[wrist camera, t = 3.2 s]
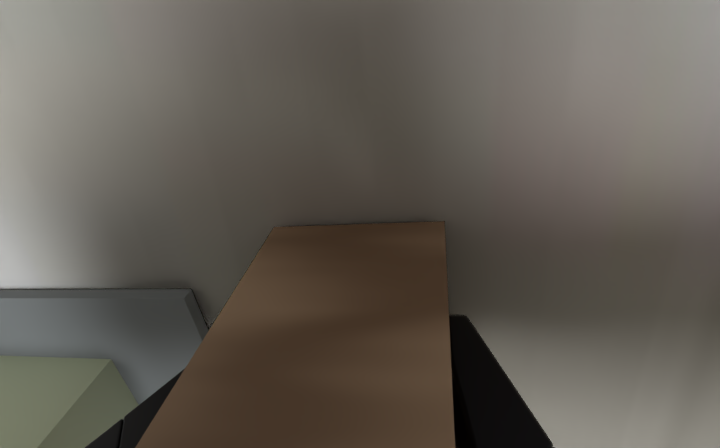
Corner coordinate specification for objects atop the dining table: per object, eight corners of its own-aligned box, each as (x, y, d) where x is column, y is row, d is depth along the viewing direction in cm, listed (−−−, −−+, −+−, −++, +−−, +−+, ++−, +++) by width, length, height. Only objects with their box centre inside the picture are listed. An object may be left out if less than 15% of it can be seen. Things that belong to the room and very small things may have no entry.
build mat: (191, 288, 12) (183, 298, 11) (283, 511, 18) (280, 521, 17) (-133, 290, 14) (-147, 298, 14) (46, 486, 20) (39, 495, 20)
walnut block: (444, 220, 9) (459, 527, 4) (448, 350, 11) (461, 664, 6) (273, 226, 10) (108, 490, 5) (305, 346, 12) (211, 622, 7)
